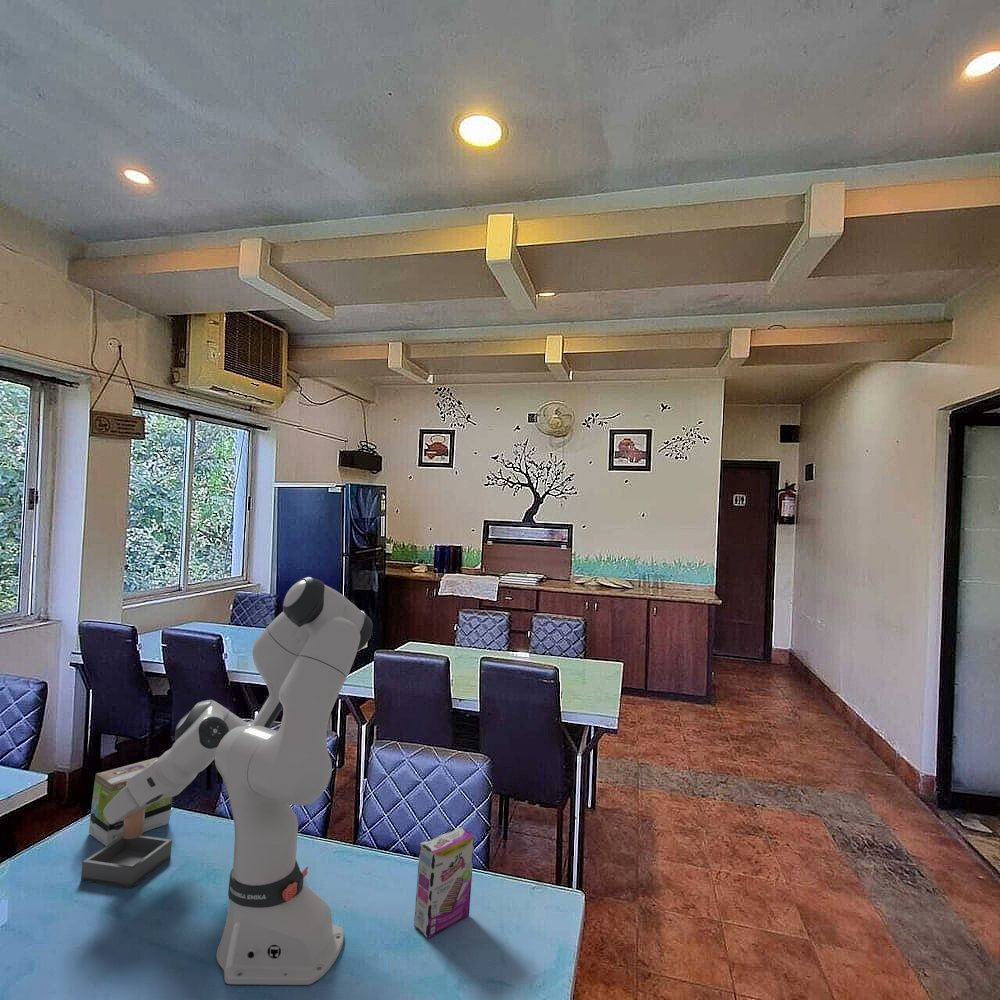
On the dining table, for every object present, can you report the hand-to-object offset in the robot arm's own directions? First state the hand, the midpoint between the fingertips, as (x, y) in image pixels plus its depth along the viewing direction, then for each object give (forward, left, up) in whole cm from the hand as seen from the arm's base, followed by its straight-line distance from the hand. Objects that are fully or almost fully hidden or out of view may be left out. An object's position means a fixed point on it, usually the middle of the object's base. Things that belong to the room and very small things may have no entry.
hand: (132, 811), depth 130 cm
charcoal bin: (0, +1, -12) cm, 12 cm away
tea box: (+12, -14, -12) cm, 22 cm away
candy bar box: (-73, +3, -12) cm, 75 cm away
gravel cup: (-1, 0, -5) cm, 5 cm away
